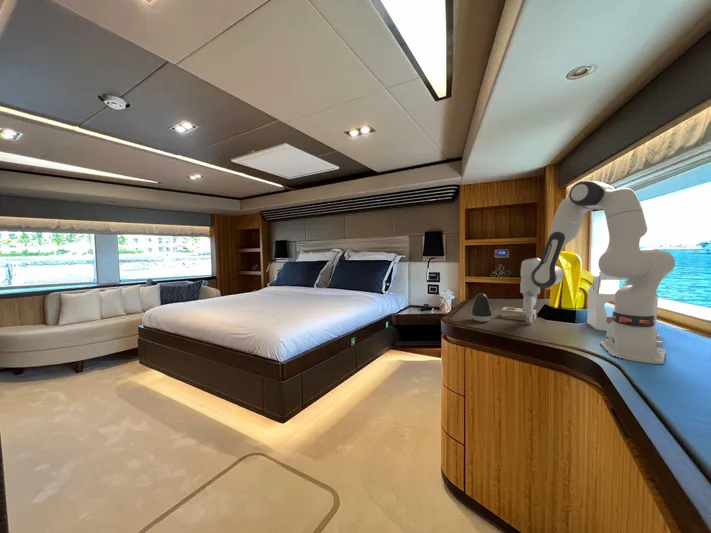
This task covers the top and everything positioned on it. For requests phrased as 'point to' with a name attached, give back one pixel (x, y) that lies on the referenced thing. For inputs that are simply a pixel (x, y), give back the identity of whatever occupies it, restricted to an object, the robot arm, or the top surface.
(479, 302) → the dark grey egg speaker
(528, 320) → the peg
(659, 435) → the top surface
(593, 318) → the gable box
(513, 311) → the hole block
